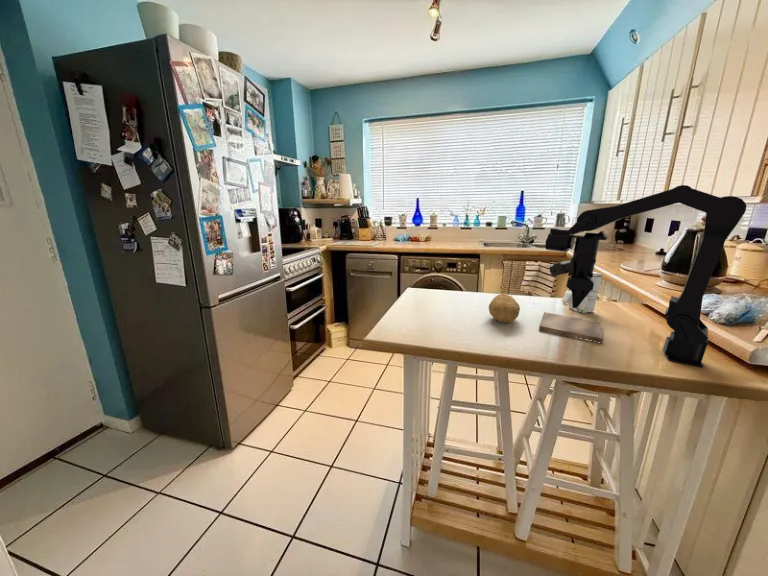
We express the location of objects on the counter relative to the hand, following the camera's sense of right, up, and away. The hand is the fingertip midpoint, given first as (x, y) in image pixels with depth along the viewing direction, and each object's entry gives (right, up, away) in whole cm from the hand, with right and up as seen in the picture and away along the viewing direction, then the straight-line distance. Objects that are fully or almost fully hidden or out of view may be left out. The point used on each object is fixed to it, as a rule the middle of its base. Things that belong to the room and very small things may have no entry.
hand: (574, 304), depth 93 cm
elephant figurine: (0, -1, +1) cm, 1 cm away
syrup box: (+14, -3, +18) cm, 23 cm away
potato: (-19, -6, +8) cm, 21 cm away
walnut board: (0, -7, +2) cm, 8 cm away
